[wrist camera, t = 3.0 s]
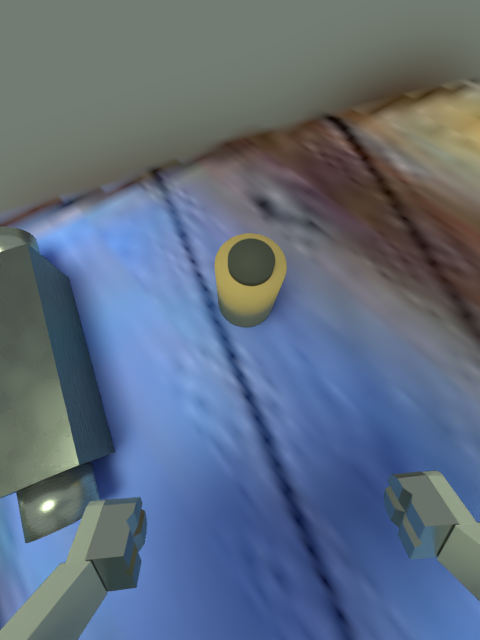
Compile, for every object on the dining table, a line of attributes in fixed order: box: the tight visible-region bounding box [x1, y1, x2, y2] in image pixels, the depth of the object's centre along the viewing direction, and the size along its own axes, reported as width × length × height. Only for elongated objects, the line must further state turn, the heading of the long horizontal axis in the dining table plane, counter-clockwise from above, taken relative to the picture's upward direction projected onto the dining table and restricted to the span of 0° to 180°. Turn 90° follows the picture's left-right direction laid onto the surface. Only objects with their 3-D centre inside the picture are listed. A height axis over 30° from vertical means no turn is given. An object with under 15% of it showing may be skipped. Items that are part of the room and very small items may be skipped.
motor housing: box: [0, 227, 115, 543], centre depth 23 cm, size 22×6×6 cm, turn 22°
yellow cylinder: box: [215, 233, 287, 327], centre depth 24 cm, size 5×5×8 cm
